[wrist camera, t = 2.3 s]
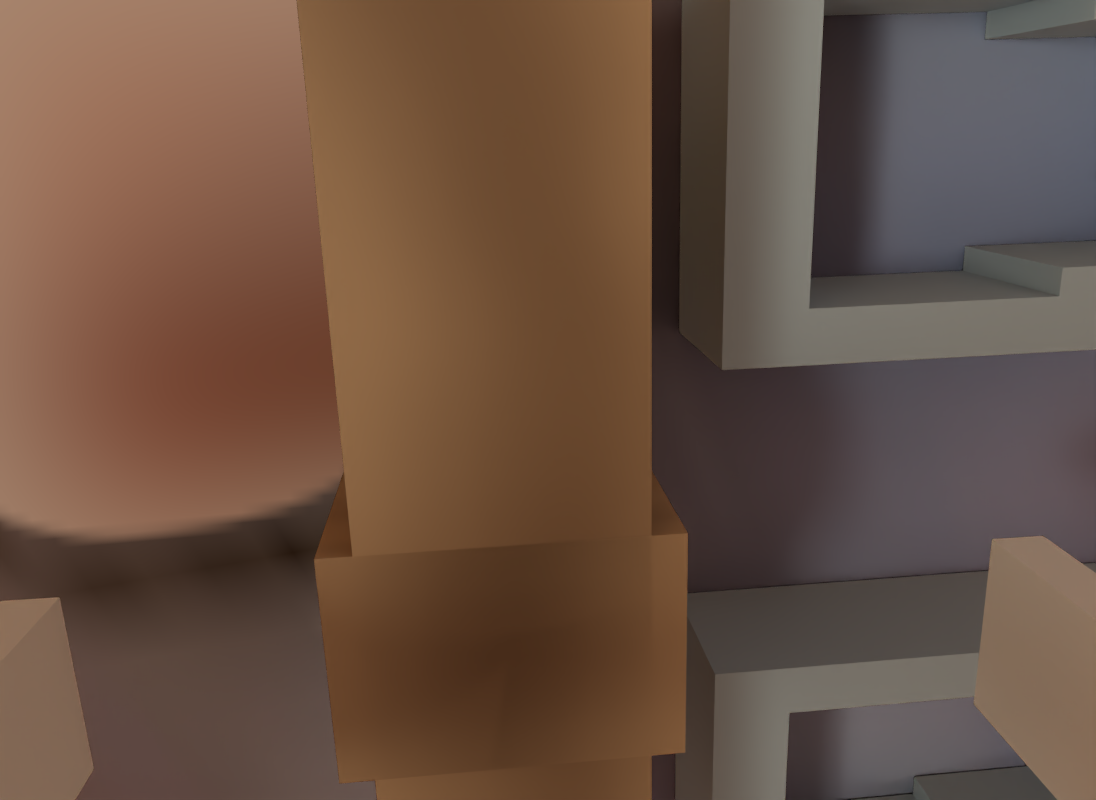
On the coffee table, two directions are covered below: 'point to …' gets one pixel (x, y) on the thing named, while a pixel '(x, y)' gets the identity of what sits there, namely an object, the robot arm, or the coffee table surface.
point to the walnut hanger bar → (493, 400)
